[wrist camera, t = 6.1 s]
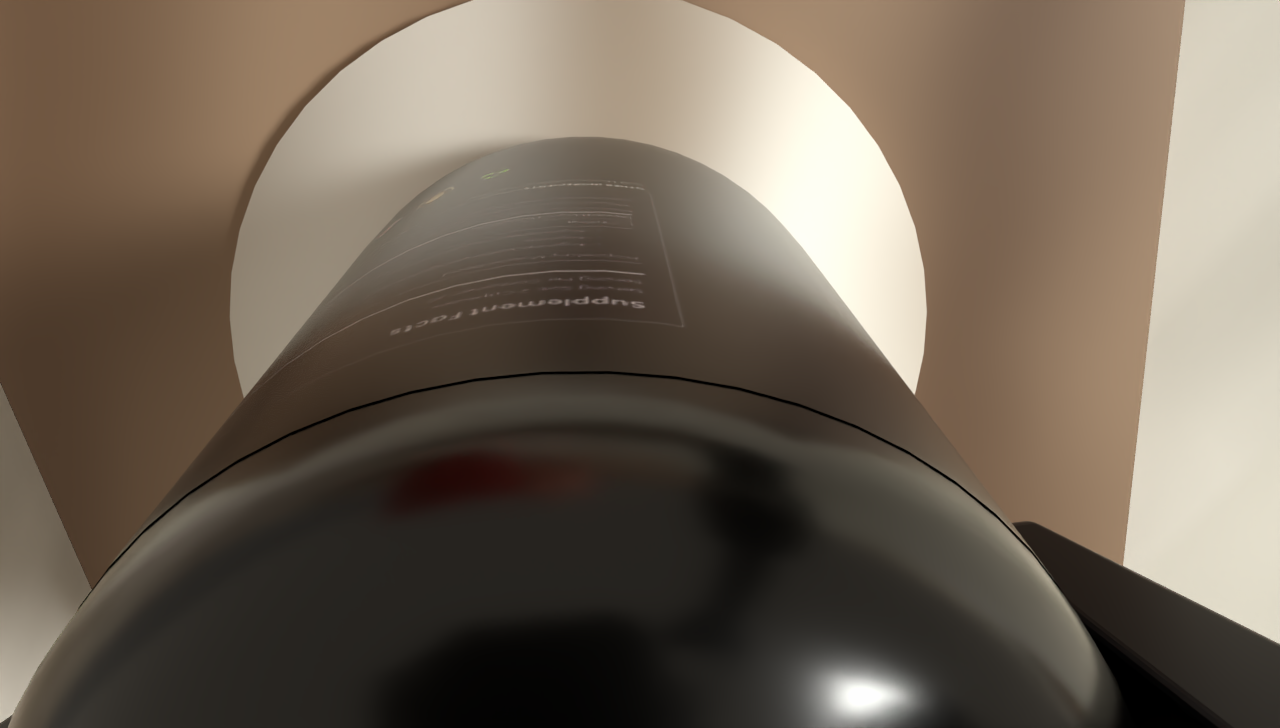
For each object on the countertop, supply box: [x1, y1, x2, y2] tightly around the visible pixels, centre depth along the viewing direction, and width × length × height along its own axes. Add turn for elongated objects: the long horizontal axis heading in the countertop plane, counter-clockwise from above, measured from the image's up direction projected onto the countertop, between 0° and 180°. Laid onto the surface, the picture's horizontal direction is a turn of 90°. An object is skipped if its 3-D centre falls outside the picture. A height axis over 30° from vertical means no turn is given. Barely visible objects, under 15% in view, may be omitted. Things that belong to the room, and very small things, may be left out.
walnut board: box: [0, 0, 1185, 589], centre depth 14 cm, size 17×16×2 cm
